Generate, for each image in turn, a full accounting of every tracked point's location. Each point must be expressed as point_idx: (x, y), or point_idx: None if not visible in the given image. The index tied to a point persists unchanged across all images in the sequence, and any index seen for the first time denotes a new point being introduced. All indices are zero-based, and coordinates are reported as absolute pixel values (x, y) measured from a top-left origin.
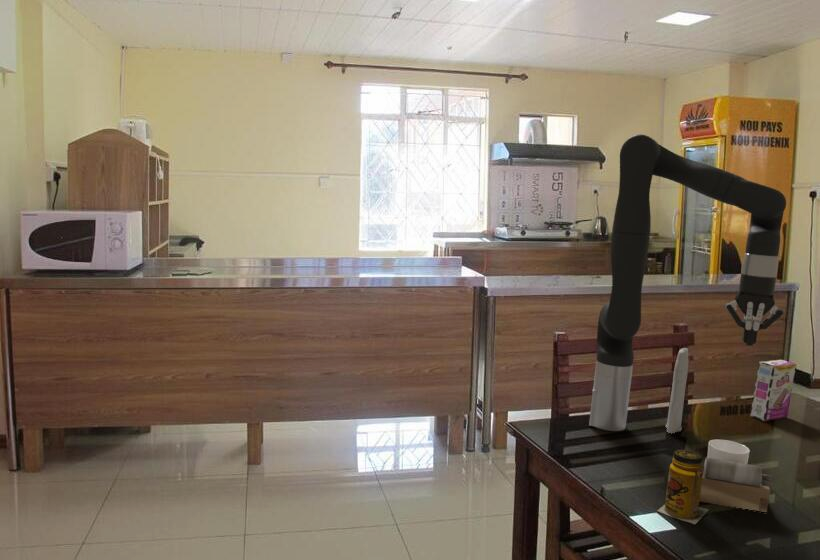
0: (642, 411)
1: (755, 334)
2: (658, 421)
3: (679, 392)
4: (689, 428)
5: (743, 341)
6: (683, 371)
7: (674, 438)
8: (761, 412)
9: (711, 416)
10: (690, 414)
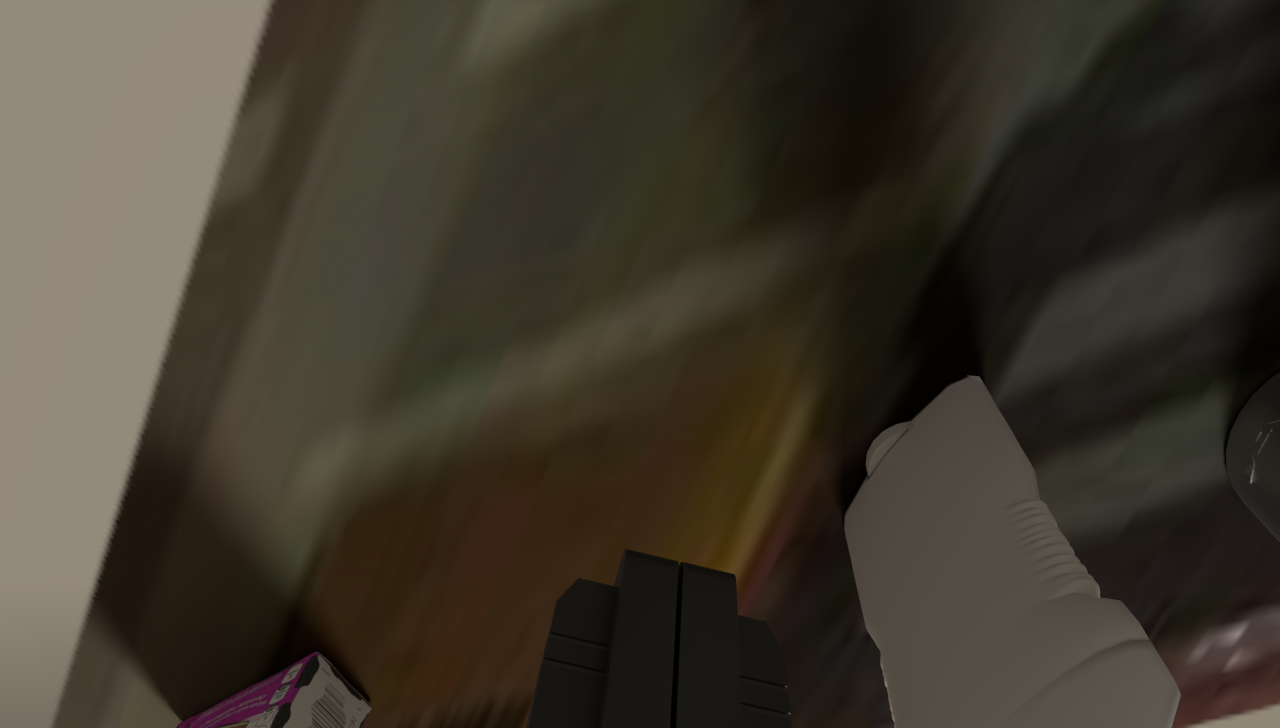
0: None
1: (564, 721)
2: None
3: (1015, 546)
4: (803, 484)
5: (771, 639)
6: (1059, 674)
7: (984, 308)
8: (319, 696)
9: None
10: None
